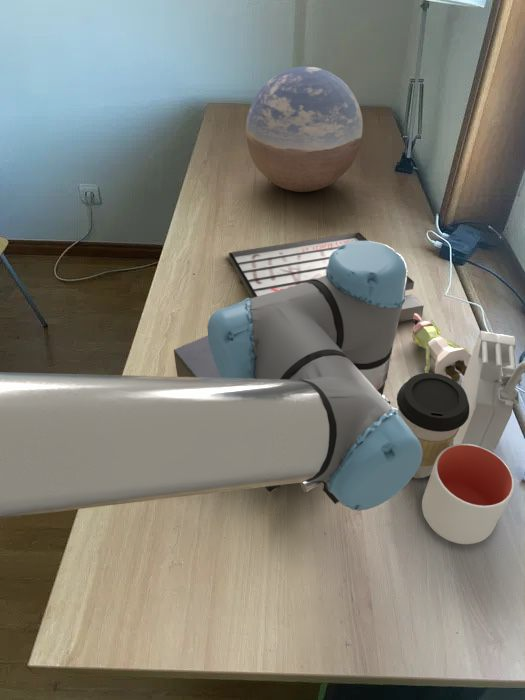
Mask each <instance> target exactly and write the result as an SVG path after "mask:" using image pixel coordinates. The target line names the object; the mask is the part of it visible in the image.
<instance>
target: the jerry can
mask: <svg viewBox="0 0 525 700" xmlns="http://www.w3.org/2000/svg"><path fill="white" fill-rule="evenodd" d="M515 351H516V337H515V336H514V335H508V334H502V333H496V332H490V331H484V330H480V331H479V332H478V334H477V337H476V340H475V343H474V346H473V349H472V351H471V354H470V355H471V357H470V360H469V363H468V366H467V369H466V371H465V374H464V376H462V377H463V378H462V380H461V383H460V386H461V387H462V388H463V389H464V391H465V393H466V395H467V399H468V402H469V406H470V407H469V416H468V419H467V421H466V422H465V423H464V424H463V425H462V426H461V427H460V428H459V431H458V432H457V434H456V436H455V438H454V439H453V441H452V446H453V445H457V444H471V445H476V446H479V447H482V448H485V449H487V450H489V451H491V452H493V453H494V454H495V451H496V449H497V447H498V445H499V442H500V441H501V438H502V436H503V434H504V432H505V429H506V428H507V425H508V423H509V421H510V418H511V416H512V414H513V410H514V409H513V408H514V405H519V403H520V396H519V391H517V389H516V387H517V386H519V387H521V385H522V384H521V383H522V381H523V374H524V373H525V360H523V361H521V362H520V363H519V364H518V365H517V363H516V355H515ZM517 384H518V385H517Z"/></svg>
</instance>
